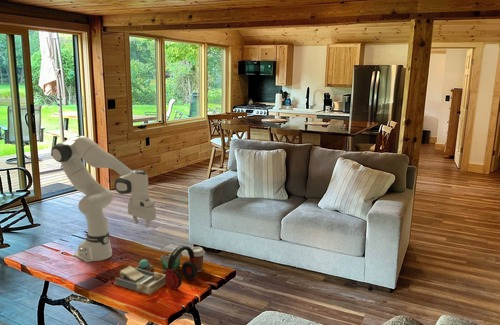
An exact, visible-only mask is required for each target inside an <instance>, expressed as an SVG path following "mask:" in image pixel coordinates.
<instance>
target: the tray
mask: <svg viewBox="0 0 500 325" xmlns="http://www.w3.org/2000/svg"><path fill="white" fill-rule="evenodd" d="M153 273H154V280H152V281H151V282H149V283H147V284H146V285H144V284H140V283H137V291H136V292H139V293H143V294H144V295H145V294H146V295H149V296H150V295H152V294H153V293H155V292H156V291H157V290H159V289H160V288H162V287H163V286H165V285H167V283H166V280H165V275H166V274H165V273H164V274H163V273H161V272H157V271H153Z"/></svg>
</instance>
